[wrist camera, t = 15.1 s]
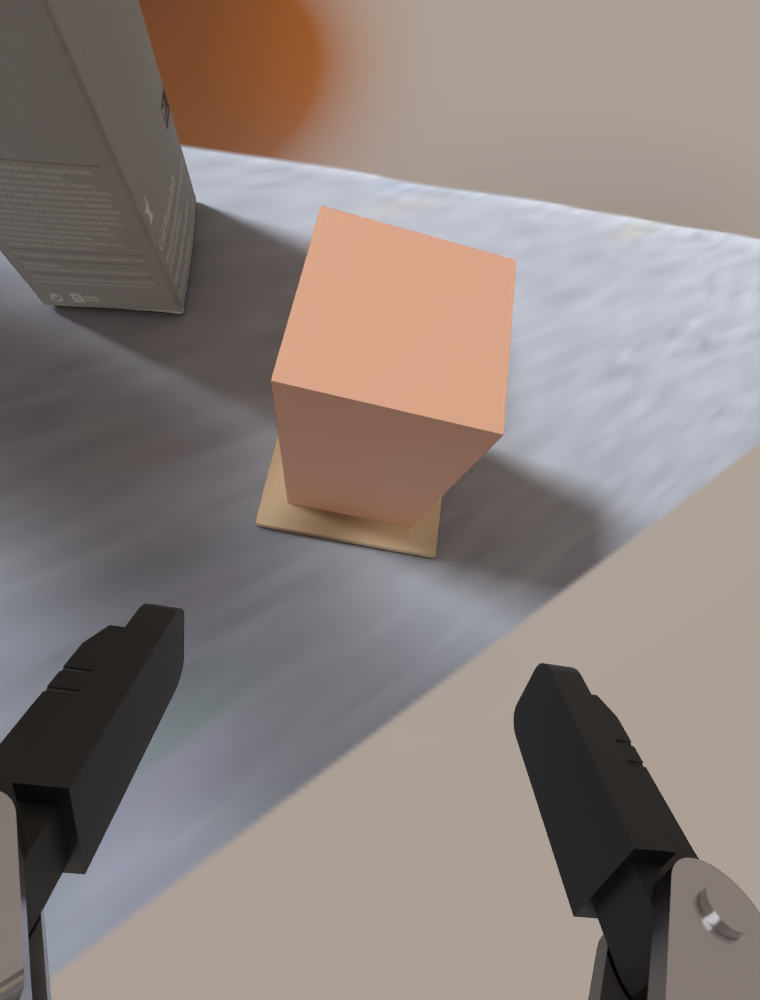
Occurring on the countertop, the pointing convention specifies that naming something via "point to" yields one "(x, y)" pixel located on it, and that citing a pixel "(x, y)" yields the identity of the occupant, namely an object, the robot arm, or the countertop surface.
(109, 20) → the skincare box
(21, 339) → the countertop surface
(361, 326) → the tan rectangular prism
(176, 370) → the countertop surface
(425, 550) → the wooden peg stand
